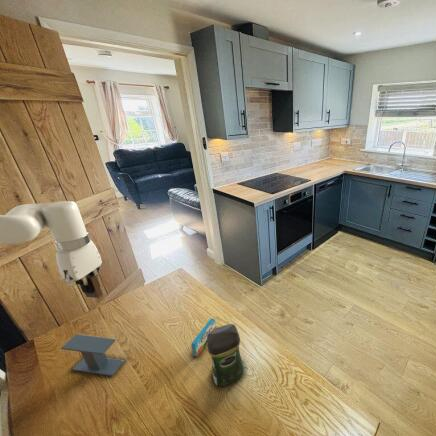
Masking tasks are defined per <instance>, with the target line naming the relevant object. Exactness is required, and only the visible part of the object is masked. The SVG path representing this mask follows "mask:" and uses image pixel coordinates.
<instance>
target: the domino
mask: <svg viewBox="0 0 436 436" xmlns="http://www.w3.org/2000/svg"><path fill="white" fill-rule="evenodd" d="M86 278H87V281H88V283H91V286H92V288H93V291H94V292H93V293H92V294H90V293H84V295H85V297H86V298H92V299H93V298H95V299H99V298H100V297H102V296H103V293H104V292H103V291H102V288H101V284H100V282H99V283H98V281H99V279H98V280H97V278H98V277H97V278H96V275H86ZM81 281H82V280H81ZM99 284H100V285H99Z"/></svg>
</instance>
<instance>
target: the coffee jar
mask: <svg viewBox="0 0 436 436" xmlns="http://www.w3.org/2000/svg"><path fill="white" fill-rule="evenodd" d="M240 345H241V336H240V333H239V331H238V328H237V327H236V325H235V324H233V323H227V324H224V325H222V326H219V327H216V329H214V330H212V331H211V332H209V333H208V335H207V344H206V348H207V351H208V354H209V355H210V357H211V371H212V378H213V382H214V384H215V385H216V386H217V387H219V388H222V387H225V386H229V385H231V384H233V383H235V382H236V381H238V380H240V379H241V378H242V377H243V375H244V371H245V370H244V363H243V360H242V356H241V352H240Z"/></svg>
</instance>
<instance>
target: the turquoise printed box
mask: <svg viewBox="0 0 436 436" xmlns="http://www.w3.org/2000/svg"><path fill="white" fill-rule="evenodd" d="M216 328H217V323H216V318H213V317H211V318H210V319H209V320H208V321H207V322H206V324H205V325H204V327H203V328H202V329H201V330H200V332H199V333H198V334H197V335H196V337H195V338H194V339H193V341H192V342H191V344H190V345H191V346H190V347H191V351H192V355H193V357H198V356H199V355H200V354H201V352H202V350H203V349H204V348H205V347H206V346H207V335H208V333H209V332H211V331H212V330H214V329H216Z"/></svg>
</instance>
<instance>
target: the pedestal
mask: <svg viewBox="0 0 436 436" xmlns="http://www.w3.org/2000/svg"><path fill="white" fill-rule="evenodd" d="M116 341H117V339H116V338H110V337H109V338H107V337H101V336H95V335H94V336H93V335H87V334H79V333H76V334H74V335H73V336H72V337H71V338H70V339H69V340H68V341H67V342H66V343H64V344H63V345H62V346H61V347H60V350H66V351H74V352H80V354H81V356H82V359H81V360H80V361H79V362H78V363H77V364H76V365H75V366H74V367H73V368H72V371H75V372H81V373H87V374H94V375H95V374H96V375H101V376H110V377H113V376H114V375H115V374H116V373H117V371H118V370H119V369H120V367H121V366H123V364H124V362H125V360H123V359H118V358H109V357H107V356H106V352H107V351H108V350H109V349H110V348H111V347H112V346H113V344H115V342H116Z"/></svg>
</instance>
